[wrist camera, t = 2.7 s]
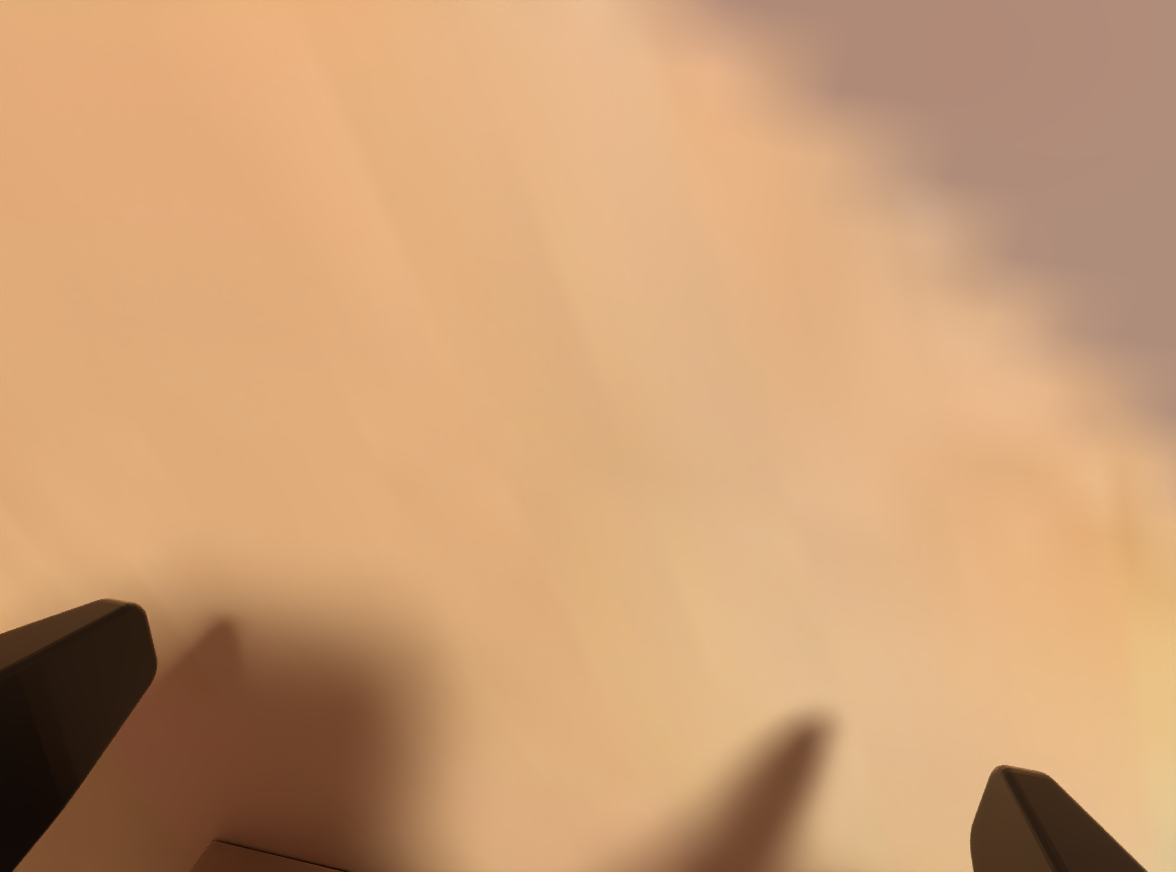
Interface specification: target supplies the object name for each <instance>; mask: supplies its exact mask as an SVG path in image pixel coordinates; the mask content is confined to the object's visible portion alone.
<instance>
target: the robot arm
mask: <svg viewBox="0 0 1176 872" xmlns="http://www.w3.org/2000/svg"><path fill="white" fill-rule="evenodd" d="M156 670H157V656H156V652H155V648H154V644H153V639H152V635H151V631H150V627H149V623H148V618H147V615H146V612H145V610H144V609H143V608H142V607H141V606H140V605H138V604H136V603H131V602H126V601H120V600H115V599H101V600H97V601H94V602H91V603H88V604H86V605H83V606H80V607H77V608H74V609H71V610H68V611H65V612H62V613H60V614H57V615H54V616H51V617H48V618H45V619H42V620H39V621H36V622H33V623H31V624H28V625H25V626H22V627H19V628H16V629H13V630H10V631H7V632H5V633H2V634H0V872H13V870H14V869H15V868H16V867H17V866H18V864H19V863H20V862H21V861H22V859H23V858H24V857H25V856H26V855H27V853H28V852H29V851H30V850H31V849H32V847H33V846H34V845H35V844H36V842H37V841H38V840H39V839H40V838H41V836H42V835H43V834H44V833H45V832H46V830H47V829H48V828H49V827H50V825H51V824H52V823H53V821H54V820H55V819H56V818H57V816H58V815H59V814H60V813H61V811H62V810H63V809H64V808H65V806H66V805H67V803H68V802H69V801H70V799H71V798H72V796H73V795H74V794H75V792H76V791H77V790H78V788H79V787H80V785H81V784H82V783H83V781H84V780H85V778H86V777H87V775H88V774H89V772H90V771H91V770H92V768H93V767H94V765H95V764H96V762H97V761H98V760H99V758H100V757H101V755H102V754H103V752H104V751H105V749H106V748H107V747H108V745H109V744H110V742H111V741H112V739H113V738H114V737H115V735H116V734H117V732H118V731H119V729H120V728H121V726H122V725H123V724H124V722H125V721H126V719H127V718H128V716H129V715H130V714H131V712H132V711H133V709H134V708H135V706H136V705H137V703H138V702H139V701H140V699H141V698H142V696H143V695H144V693H145V692H146V691H147V689H148V688H149V686H150V685H151V683H152V681H153V679H154V677H155V674H156ZM970 850H971V858H972V865H973V871H974V872H1148V871H1147V870H1146V869H1145V868H1144V867H1142V866H1141V865H1140V864H1139V863H1138V862H1137V861H1136V860H1135V859H1134V858H1133V857H1132V856H1131V855H1130V854H1129V853H1128V852H1127V851H1126V850H1125V849H1124V848H1123V847H1122V846H1121V845H1120V844H1119V843H1118V842H1117V841H1116V840H1115V839H1114V838H1113V837H1112V836H1111V835H1110V834H1109V833H1108V832H1107V831H1106V830H1105V829H1104V828H1103V827H1102V826H1101V825H1100V824H1099V823H1098V822H1097V821H1095V820H1094V819H1093V818H1092V817H1091V816H1090V815H1089V814H1088V813H1087V812H1086V811H1085V810H1084V809H1083V808H1082V807H1081V806H1080V805H1079V804H1078V803H1077V802H1076V801H1075V800H1074V799H1073V798H1072V797H1071V796H1070V795H1069V794H1068V793H1067V792H1066V791H1065V790H1064V789H1063V788H1062V787H1061V786H1060V785H1059V784H1058V783H1057V782H1056V781H1054V780H1053V779H1052V778H1051V777H1050V776H1048V775H1046V774H1045V773H1042V772H1039V771H1034V770H1029V769H1024V768H1018V767H1013V766H1008V765H1001V766H997V767H996V768H995V769H994V770H993V771H992V773H991V775H990V777H989V779H988V782H987V785H986V788H985V790H984V793H983V796H982V799H981V801H980V804H979V807H978V810H977V812H976V815H975V818H974V821H973V824H972V828H971V834H970Z"/></svg>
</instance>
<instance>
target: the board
mask: <svg viewBox="0 0 1176 872" xmlns="http://www.w3.org/2000/svg"><path fill="white" fill-rule="evenodd" d="M190 872H343V871H339V870H335V869H330V868H326V867H322V866H318V865H314V864H310V863H305V862H301V861H297V860H293V859H289V858H285V857H280V856H276V855H272V854H268V853H264V852H260V851H255V850H251V849H247V848H243V847H239V846H234V845H230V844H226V843H222V842H218V841H214V840H213V841H212V843H211V844H210V845H209V847H208V848H207V849H206V851H205V852H204V853H203V855H202V856H201V857H200V859H199V860H198V861H197V863H196V864H195V865H194V866H193V868H192V869H191V870H190Z"/></svg>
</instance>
